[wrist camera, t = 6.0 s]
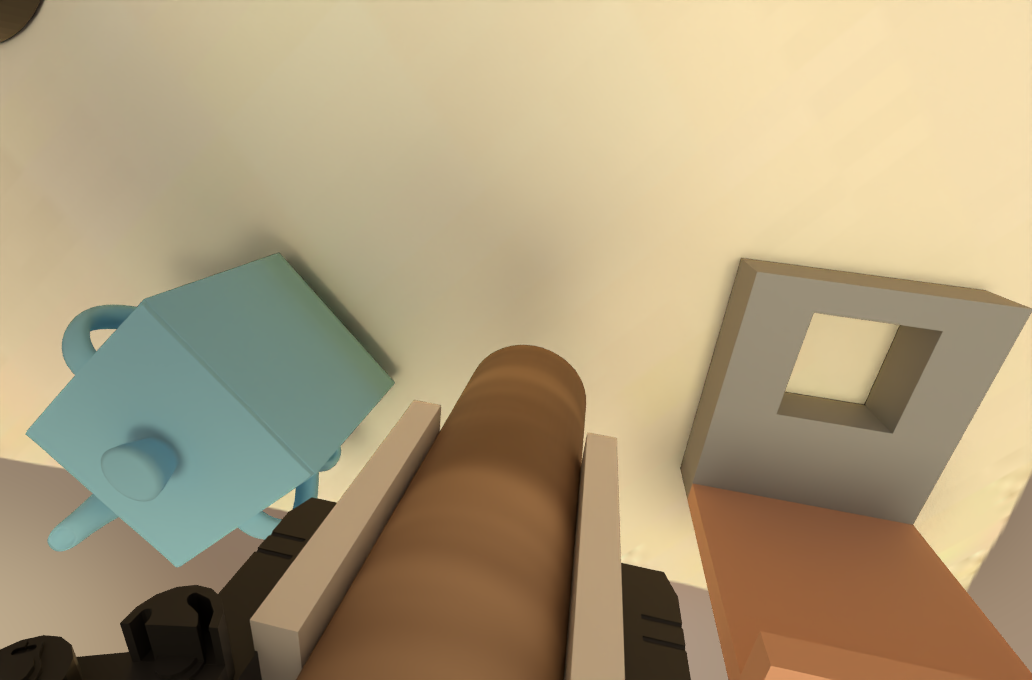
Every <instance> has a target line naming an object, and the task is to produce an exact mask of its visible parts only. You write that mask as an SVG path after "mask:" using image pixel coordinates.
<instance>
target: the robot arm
mask: <svg viewBox="0 0 1032 680" xmlns="http://www.w3.org/2000/svg"><path fill="white" fill-rule="evenodd" d="M39 2H40V0H0V42H2V41H4V40H6V39H8V38H10V37H12V36H13V35H15V34H16V33H17V32H19V31H20V30H21V29H22V28H23V27H24V26H25V25H26V24H27V22H28V21H29V20H30V19H31V17H32V16H33V14H34V12H35V11H36V9H37V7H38V5H39ZM440 415H441V405H438V404H432V403H427V402H422V401H416V400H414V401H413V402H412V403H411V405H410V406H409V407H408V409H407V410H406V411H405V413H404V414H403V415H402V417H401V418H400V419H399V421H398V422H397V423H396V425H395V426H394V427H393V429H392V430H391V432H390V433H389V434H388V436H387V437H386V438H385V440H384V441H383V442H382V444H381V445H380V446H379V448H378V449H377V450H376V452H375V453H374V454H373V456H372V457H371V458H370V460H369V461H368V462H367V464H366V465H365V466H364V468H363V469H362V470H361V472H360V473H359V474H358V476H357V477H356V478H355V480H354V481H353V482H352V484H351V485H350V486H349V488H348V489H347V490H346V492H345V493H344V494H343V496H342V497H341V498H340V500H339V501H338V502H337V503H336V502H331V501H326V500H322V499H317V498H313V497H311V498H310V499H308V500H307V501H305V502H304V503H302V504H300V505H299V506H297V507H296V508H294V509H293V510H291V511H289V512H288V513H287V515H286V516H285V517H284V518H283V519H282V520H281V522H280V523H279V524H278V525H277V526H276V527H275V529H274V530H273V531H272V534H271V535H269V536H268V537H267V538H266V539H265V540H264V542H263V543H262V544H261V545H260V546H259V547H258V550H257V552H254V553H253V554H252V555H251V556H250V558H249V559H248V560H247V561H246V562H245V563H244V565H243V566H242V567H241V568H240V569H239V570H238V572H237V573H236V574H235V575H234V576H233V578H232V579H231V580H230V581H229V582H228V583H227V584H226V586H225V587H224V588H223V589H222V590H221V591H220V593H219V594H217V593H216V592H214V590H212V589H211V588H207V587H202V586H198V585H192V586H182V587H176V588H173V589H170V590H168V591H165V592H162V593H159V594H156V595H155V596H153V597H152V598H150V599H148V600H147V601H145V602H144V603H142V604H140V605H139V606H137V607H136V608H135V609H134V610H133V611H132V612H131V613H130V614H129V615H128V616H127V617H126V618H125V619H124V620H123V621H122V622H121V623H120V625H121V628H122V631H123V634H124V637H125V641H126V644H127V647H128V650H129V652H126V653H114V654H104V655H93V656H82V657H76V655H75V653H74V650H73V648H72V645H71V644H70V643H68V642H67V641H66V640H64V639H63V638H62V637H57V636H45V635H43V636H38V637H34V638H29V639H25V640H21V641H19V642H16V643H14V644H12V645H10V646H7V647H5V648H3V649H1V650H0V680H296V679H297V677H298V675H299V673H300V672H301V670H302V668H303V667H304V665H305V663H306V661H307V660H308V658H309V656H310V655H311V653H312V651H313V649H314V648H315V646H316V644H317V642H318V641H319V639H320V637H321V636H322V634H323V632H324V630H325V629H326V627H327V625H328V624H329V622H330V620H331V618H332V617H333V615H334V613H335V611H336V610H337V608H338V606H339V605H340V603H341V601H342V599H343V598H344V596H345V594H346V592H347V591H348V589H349V587H350V586H351V584H352V582H353V580H354V579H355V577H356V575H357V574H358V572H359V570H360V568H361V567H362V565H363V563H364V561H365V560H366V558H367V556H368V555H369V553H370V551H371V549H372V548H373V546H374V544H375V543H376V541H377V539H378V537H379V536H380V534H381V532H382V530H383V529H384V527H385V525H386V524H387V522H388V520H389V518H390V517H391V515H392V513H393V511H394V510H395V508H396V506H397V505H398V503H399V501H400V499H401V498H402V496H403V494H404V493H405V491H406V489H407V487H408V486H409V484H410V482H411V480H412V479H413V477H414V475H415V474H416V472H417V470H418V468H419V467H420V465H421V463H422V462H423V460H424V458H425V456H426V455H427V453H428V451H429V449H430V448H431V446H432V444H433V443H434V441H435V439H436V437H437V436H438V434H439V432H440ZM681 627H682V620H681V614H680V608H679V601H678V596H677V595H676V593H675V591H674V589H673V587H672V586H671V584H670V582H669V580H668V579H667V577H666V575H665V573H664V572H661V571H656V570H651V569H647V568H642V567H638V566H633V565H628V564H624V563H621V547H620V516H619V486H618V456H617V438H614V437H609V436H604V435H598V434H593V433H588V432H587V437H586V442H585V447H584V453H583V458H582V463H581V470H580V483H579V495H578V507H577V520H576V532H575V545H574V557H573V570H572V582H571V595H570V607H569V620H568V632H567V645H566V657H565V670H564V680H691V678H690V672H689V665H688V660H687V653H686V651H685V640H684V633H683V629H682V628H681Z"/></svg>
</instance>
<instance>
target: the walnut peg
mask: <svg viewBox="0 0 1032 680" xmlns="http://www.w3.org/2000/svg"><path fill="white" fill-rule="evenodd" d="M585 412H586V394H585V389H584V386H583V383H582V381H581V379H580V377H579V375H578V374H577V372H576V371H575V370H574V368H573V367H572V366H571V365H570V364H569V363H568V362H567V361H566V360H564V359H563V358H562V357H560V356H559V355H557V354H555V353H553V352H551V351H549V350H547V349H544V348H541V347H537V346H530V345H515V346H509V347H505V348H502V349H500V350H497V351H495V352H494V353H492V354H490V355H489V356H488V357H486V358H485V359H484V360H483V361H482V362H481V363H480V364H479V366H478V367H477V369H476V370H475V372H474V374H473V375H472V377H471V379H470V381H469V382H468V384H467V386H466V387H465V389H464V391H463V393H462V394H461V396H460V398H459V399H458V401H457V403H456V405H455V406H454V408H453V410H452V412H451V413H450V415H449V417H448V418H447V420H446V422H445V424H444V425H443V427H442V429H441V430H440V432H439V434H438V436H437V437H436V439H435V441H434V443H433V444H432V446H431V448H430V449H429V451H428V453H427V455H426V456H425V458H424V460H423V462H422V463H421V465H420V467H419V468H418V470H417V472H416V474H415V475H414V477H413V479H412V480H411V482H410V484H409V486H408V487H407V489H406V491H405V493H404V494H403V496H402V498H401V499H400V501H399V503H398V505H397V506H396V508H395V510H394V511H393V513H392V515H391V517H390V518H389V520H388V522H387V524H386V525H385V527H384V529H383V530H382V532H381V534H380V536H379V537H378V539H377V541H376V543H375V544H374V546H373V548H372V549H371V551H370V553H369V555H368V556H367V558H366V560H365V561H364V563H363V565H362V567H361V568H360V570H359V572H358V574H357V575H356V577H355V579H354V580H353V582H352V584H351V586H350V587H349V589H348V591H347V592H346V594H345V596H344V598H343V599H342V601H341V603H340V605H339V606H338V608H337V610H336V611H335V613H334V615H333V617H332V618H331V620H330V622H329V624H328V625H327V627H326V629H325V630H324V632H323V634H322V636H321V637H320V639H319V641H318V642H317V644H316V646H315V648H314V649H313V651H312V653H311V655H310V656H309V658H308V660H307V661H306V663H305V665H304V667H303V668H302V670H301V672H300V673H299V675H298V677H297V679H296V680H564V670H565V657H566V645H567V632H568V620H569V607H570V595H571V582H572V570H573V557H574V545H575V532H576V520H577V507H578V495H579V483H580V470H581V462H582V450H583V437H584V424H585Z"/></svg>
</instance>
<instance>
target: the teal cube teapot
mask: <svg viewBox="0 0 1032 680" xmlns="http://www.w3.org/2000/svg"><path fill="white" fill-rule="evenodd" d="M98 329H117V330H116V331H115V332H114V333H113V334H112V335H111V336H110V337H109V338H108V339H107V341H106V342H105V343H104V344H103V345H102V346H101V347H100V348H99V349H98V351H96V350H95V349H94V347H93V345H92V343H91V340H90V331H93V330H98ZM62 353H63V357H64V360H65V362H66V364H67V366H68V367H69V368H70V370H71V371H72V372H73V373H74V374H75V376H74V377H73V378H72V380H71V381H70V382H69V383H68V384H67V385H66V386H65V388H64V389H63V390H62V391H61V392H60V393H59V394H58V396H57V397H56V398H55V399H54V400H53V401H52V402H51V404H50V405H49V406H48V407H47V408H46V409H45V411H44V412H43V413H42V414H41V415H40V416H39V418H38V419H37V420H36V421H35V422H34V423H33V425H32V426H31V427H30V428H29V429H28V430H27V432H26V435H27V436H28V437H29V438H31V439H32V440H33V441H34V442H35V443H37V444H38V445H39V446H40V447H41V448H42V449H43V450H45V451H46V452H47V453H48V454H49V455H50V456H51V457H52V458H54V459H55V460H56V461H57V462H58V463H59V464H60V465H61V466H62V467H64V468H65V469H66V470H67V471H68V472H69V473H70V474H71V475H73V476H74V477H75V478H76V479H77V480H78V481H79V482H80V483H82V484H83V485H84V486H85V487H86V488H87V489H88V490H89V491H91V492H92V493H93V494H92V495H91V496H90V497H89V498H88V499H87V500H86V501H84V503H82V504H81V505H80V506H79V507H78V508H77V509H76V510H75V511H74V512H72V513H71V514H70V515H69V516H68V517H67V518H65V519H64V520H63V521H62V522H61V523H59V524H58V525H57V526H56V527H55V528H54V529H53V530H52V532H51V533H50V535H49V537H48V544H49V546H50V547H51V548H52V549H53V550H55V551H65V550H68V549H70V548H73V547H74V546H76V545H77V544H79V543H80V542H81V541H83V540H84V539H85V538H87V537H88V536H90V535H91V534H92V533H94V532H95V531H97V530H98V529H100V528H101V527H103V526H104V525H106V524H107V523H109V522H111V521H113V520H114V519H116V518H118V517H120V518H121V519H122V520H123V521H124V522H125V523H127V524H128V525H129V526H130V527H131V528H132V529H134V530H135V531H136V532H137V533H139V535H140V536H142V537H143V538H144V539H145V540H146V541H147V542H149V543H150V544H151V545H152V546H153V547H154V548H155V549H157V550H158V551H159V552H160V553H161V554H162V555H163V556H164V557H166V558H167V559H168V560H169V561H170V562H171V563H172V564H173V565H174V566H175V567H180V566H182V565H183V564H185V563H186V562H187V561H189V560H190V559H192V558H193V557H195V556H196V555H198V554H199V553H201V552H202V551H204V550H205V549H206V548H208V547H210V546H211V545H212V544H214V543H215V542H217V541H218V540H220V539H221V538H223V537H224V536H226V535H227V534H229V533H230V532H231V531H233V530H234V529H236V528H237V527H238V528H240V529H241V531H243V532H245V533H246V534H248V535H250V536H252V537H255V538H259V539H264V540H265V539H266V538H267V537H268V536H269V535H271V534H272V531H273V530H274V529H275V527H276V526H277V525H278V524H279V523H280V522H281V520H282V519H277V518H274V517H271V516H269V515H268V514H266V513H265V512H263V511H262V510H264V509H265V508H267V507H268V506H270V505H271V504H273V503H274V502H275V501H277V500H278V499H280V498H281V497H283V496H284V495H286V494H287V493H289V492H290V491H292V490H293V489H295V488H296V493H295V501H294V506H293V509H294V508H296V507H297V506H299V505H300V504H302V503H304V502H305V501H307V500H308V499H310V498H311V497H313V498H317V496H318V483H319V472H322V471H327V470H329V469H331V468H332V467H334V466H335V465H336V463H337V462H338V460H339V458H340V455H341V447H340V446H341V445H342V443H343V442H344V441H345V440H346V439H347V438H348V437H349V435H350V434H351V433H352V432H353V431H354V430H355V428H356V427H357V426H358V425H359V424H360V423H361V422H362V420H363V419H364V418H365V417H366V416H367V415H368V413H369V412H370V411H371V410H372V409H373V408H374V407H375V405H376V404H377V403H378V402H379V401H380V400H381V398H382V397H383V396H384V395H385V394H386V393H387V392H388V390H389V389H390V388H391V387H392V386H393V385H394V384H395V382H394V381H393V380H392V379H391V377H390V376H389V375H388V374H387V373H386V372H385V371H384V370H383V368H382V367H381V366H380V365H379V364H378V363H377V362H376V361H375V359H374V358H373V357H372V356H371V355H370V354H369V353H368V352H367V351H366V349H365V348H364V347H363V346H362V345H361V344H360V343H359V342H358V340H357V339H356V338H355V337H354V336H353V335H352V334H351V333H350V331H349V330H348V329H347V328H346V327H345V326H344V325H343V324H342V322H341V321H340V320H339V319H338V318H337V317H336V316H335V315H334V313H333V312H332V311H331V310H330V309H329V308H328V307H327V306H326V305H325V303H324V302H323V301H322V300H321V299H320V298H319V297H318V296H317V294H316V293H315V292H314V291H313V290H312V289H311V288H310V287H309V285H308V284H307V283H306V282H305V281H304V280H303V279H302V278H301V276H300V275H299V274H298V273H297V272H296V271H295V270H294V269H293V267H292V266H291V265H290V264H289V263H288V262H287V261H286V260H285V258H284V257H283V256H282V255H281V254H280V253H277V254H274V255H271V256H268V257H265V258H262V259H259V260H256V261H253V262H250V263H248V264H245V265H242V266H239V267H236V268H233V269H230V270H227V271H224V272H221V273H218V274H216V275H213V276H210V277H207V278H204V279H201V280H198V281H195V282H192V283H189V284H186V285H184V286H181V287H178V288H175V289H172V290H169V291H166V292H163V293H160V294H157V295H154V296H152V297H149V298H146V299H144V300H143V301H142V302H141V303H140V304H139V305H138V306H137V307H134V306H126V305H102V306H96V307H93V308H90V309H87V310H85V311H83V312H82V313H80V314H79V315H77V316H76V317H75V318H74V319H73V320H72V321H71V322H70V324H69V325H68V327H67V329H66V331H65V333H64V336H63V339H62Z"/></svg>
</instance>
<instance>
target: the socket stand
mask: <svg viewBox="0 0 1032 680" xmlns="http://www.w3.org/2000/svg"><path fill="white" fill-rule="evenodd" d="M1031 312H1032V309H1031V308H1029V307H1026V306H1024V305H1021V304H1019V303H1016V302H1014V301H1011V300H1009V299H1006V298H1004V297H1001V296H999V295H996V294H993V293H991V292H988V291H986V290H979V289H971V288H964V287H956V286H949V285H941V284H933V283H926V282H918V281H911V280H903V279H896V278H888V277H881V276H873V275H866V274H858V273H851V272H843V271H836V270H828V269H820V268H813V267H805V266H798V265H790V264H783V263H775V262H768V261H760V260H753V259H745V258H741V261H740V264H739V268H738V271H737V275H736V278H735V282H734V285H733V289H732V292H731V295H730V299H729V302H728V306H727V309H726V313H725V316H724V320H723V323H722V326H721V330H720V333H719V337H718V340H717V344H716V347H715V351H714V354H713V357H712V361H711V364H710V368H709V371H708V375H707V378H706V382H705V385H704V389H703V392H702V395H701V399H700V402H699V406H698V409H697V413H696V416H695V420H694V423H693V426H692V430H691V433H690V437H689V440H688V444H687V447H686V451H685V454H684V458H683V461H682V464H681V468H680V469H681V473H682V477H683V482H684V486H685V491H686V495H687V499H688V504H689V508H690V513H691V517H692V521H693V526H694V530H695V535H696V539H697V543H698V548H699V552H700V556H701V561H702V565H703V570H704V574H705V578H706V583H707V587H708V592H709V596H710V600H711V605H712V609H713V614H714V618H715V622H716V627H717V631H718V636H719V640H720V644H721V649H722V653H723V657H724V662H725V666H726V671H727V675H728V679H729V680H1032V673H1031V672H1030V671H1029V669H1028V668H1027V667H1026V666H1025V665H1024V663H1023V662H1022V661H1021V659H1020V658H1019V657H1018V656H1017V655H1016V653H1015V652H1014V651H1013V649H1012V648H1011V647H1010V646H1009V645H1008V643H1007V642H1006V641H1005V639H1004V638H1003V637H1002V636H1001V634H1000V633H999V632H998V631H997V629H996V628H995V627H994V626H993V624H992V623H991V622H990V621H989V619H988V618H987V617H986V616H985V614H984V613H983V612H982V611H981V609H980V608H979V607H978V606H977V604H976V603H975V602H974V601H973V600H972V598H971V597H970V596H969V594H968V593H967V592H966V591H965V589H964V588H963V587H962V586H961V584H960V583H959V582H958V581H957V579H956V578H955V577H954V576H953V574H952V573H951V572H950V571H949V569H948V568H947V567H946V566H945V564H944V563H943V562H942V561H941V559H940V558H939V557H938V556H937V554H936V553H935V552H934V551H933V549H932V548H931V547H930V546H929V544H928V543H927V542H926V541H925V539H924V538H923V537H922V536H921V534H920V533H919V532H918V531H917V529H916V528H915V527H914V526H913V524H914V522H915V520H916V518H917V517H918V515H919V513H920V511H921V509H922V508H923V506H924V504H925V502H926V500H927V499H928V497H929V495H930V493H931V491H932V490H933V488H934V486H935V484H936V483H937V481H938V479H939V477H940V475H941V474H942V472H943V470H944V468H945V466H946V465H947V463H948V461H949V459H950V457H951V456H952V454H953V452H954V450H955V448H956V447H957V445H958V443H959V441H960V440H961V438H962V436H963V434H964V432H965V431H966V429H967V427H968V425H969V423H970V422H971V420H972V418H973V416H974V414H975V413H976V411H977V409H978V407H979V406H980V404H981V402H982V400H983V398H984V397H985V395H986V393H987V391H988V389H989V388H990V386H991V384H992V382H993V380H994V379H995V377H996V375H997V373H998V372H999V370H1000V368H1001V366H1002V364H1003V363H1004V361H1005V359H1006V357H1007V355H1008V354H1009V352H1010V350H1011V348H1012V346H1013V345H1014V343H1015V341H1016V339H1017V337H1018V336H1019V334H1020V332H1021V330H1022V329H1023V327H1024V325H1025V323H1026V321H1027V320H1028V318H1029V316H1030V314H1031ZM813 313H820V314H827V315H834V316H841V317H848V318H855V319H862V320H869V321H876V322H883V323H890V324H897V325H900V327H899V329H898V332H897V334H896V336H895V338H894V341H893V343H892V345H891V347H890V349H889V352H888V354H887V356H886V358H885V361H884V363H883V365H882V367H881V370H880V372H879V374H878V376H877V378H876V381H875V383H874V385H873V387H872V390H871V392H870V394H869V396H868V399H867V401H866V403H865V405H862V404H856V403H850V402H843V401H837V400H831V399H825V398H819V397H813V396H807V395H800V394H794V393H788V392H785V389H786V387H787V384H788V381H789V379H790V376H791V373H792V370H793V368H794V365H795V362H796V360H797V357H798V354H799V351H800V349H801V346H802V343H803V340H804V338H805V335H806V332H807V330H808V327H809V324H810V321H811V319H812V316H813Z"/></svg>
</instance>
